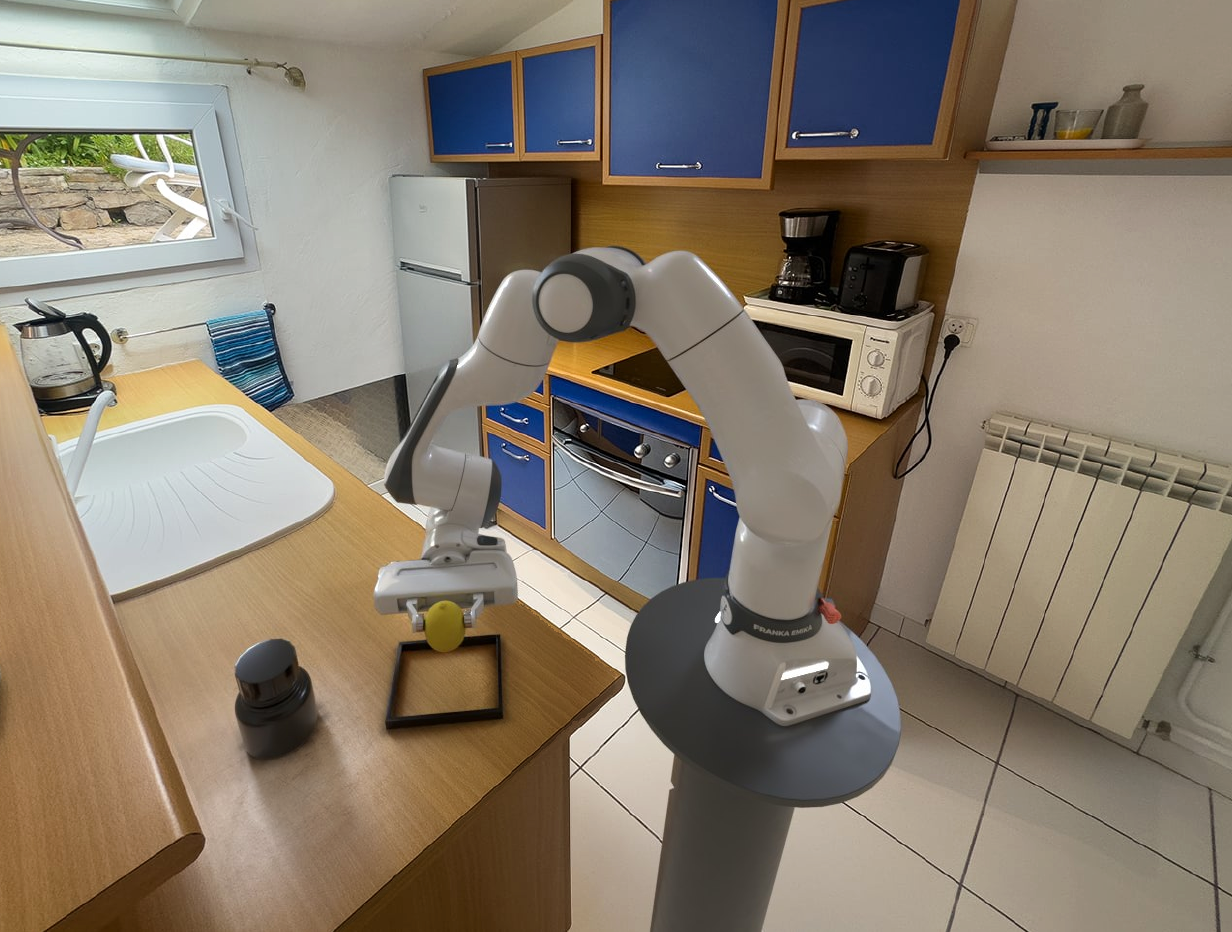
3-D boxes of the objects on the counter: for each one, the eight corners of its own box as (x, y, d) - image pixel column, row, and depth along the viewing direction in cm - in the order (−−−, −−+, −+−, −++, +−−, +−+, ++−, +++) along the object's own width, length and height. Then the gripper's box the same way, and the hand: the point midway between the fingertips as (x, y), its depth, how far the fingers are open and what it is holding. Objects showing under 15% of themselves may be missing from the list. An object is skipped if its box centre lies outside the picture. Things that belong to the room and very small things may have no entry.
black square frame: (500, 641, 89) (500, 633, 88) (503, 718, 77) (503, 711, 76) (399, 649, 87) (398, 641, 86) (385, 730, 75) (384, 721, 74)
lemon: (436, 630, 83) (431, 586, 79) (473, 636, 82) (469, 592, 78) (420, 661, 78) (414, 616, 74) (459, 668, 77) (454, 622, 73)
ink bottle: (322, 689, 80) (309, 623, 76) (322, 746, 73) (307, 677, 68) (244, 711, 77) (225, 643, 73) (236, 773, 70) (214, 702, 65)
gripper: (378, 546, 87) (360, 614, 74) (514, 537, 89) (519, 602, 76) (383, 579, 89) (366, 651, 77) (515, 570, 92) (520, 638, 79)
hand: (444, 626), depth 77 cm, fingers closed on lemon, 5 cm apart
